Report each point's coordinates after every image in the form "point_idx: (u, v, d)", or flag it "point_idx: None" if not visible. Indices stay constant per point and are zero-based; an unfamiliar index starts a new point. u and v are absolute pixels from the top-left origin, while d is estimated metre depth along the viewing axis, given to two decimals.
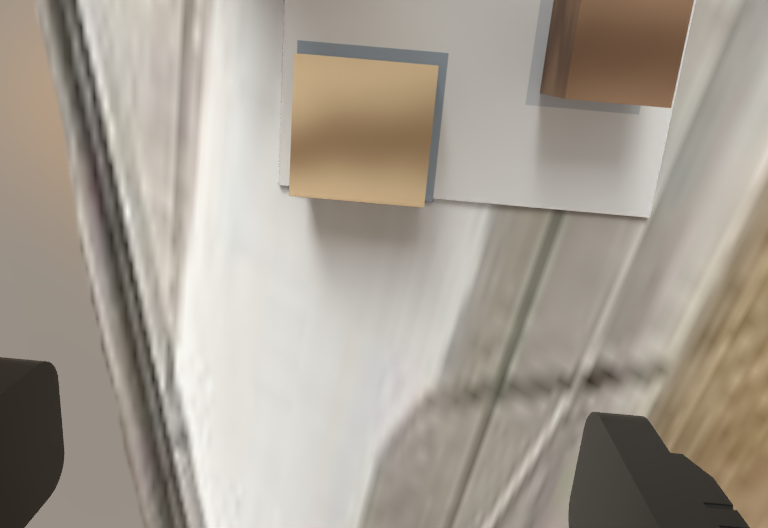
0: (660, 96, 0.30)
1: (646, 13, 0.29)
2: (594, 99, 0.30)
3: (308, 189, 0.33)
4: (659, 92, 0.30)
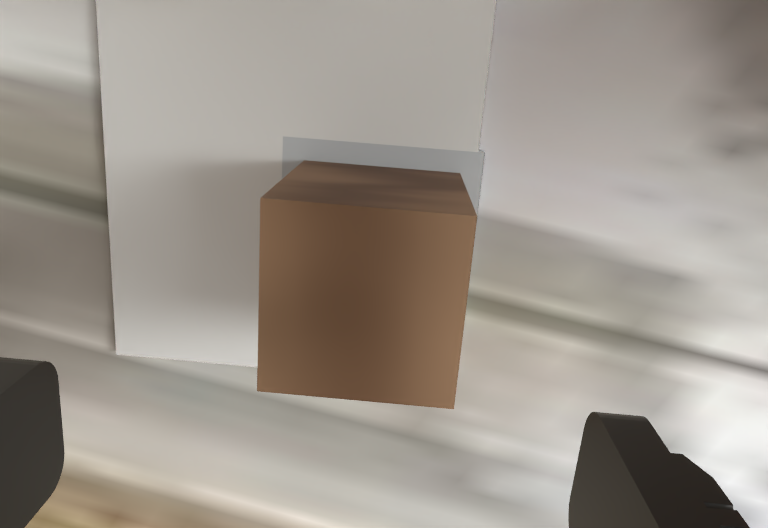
0: (276, 371, 0.16)
1: (421, 333, 0.16)
2: (263, 255, 0.15)
3: None
4: (283, 369, 0.16)
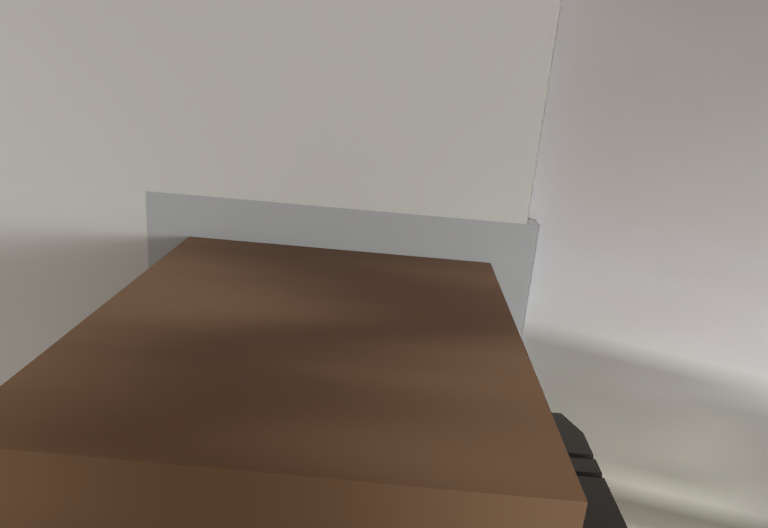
0: None
1: None
2: None
3: None
4: None
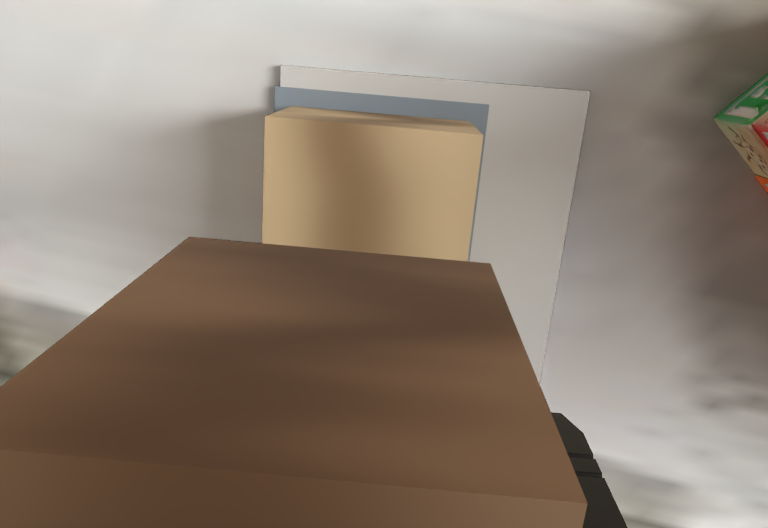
0: None
1: None
2: None
3: (276, 148, 0.21)
4: None
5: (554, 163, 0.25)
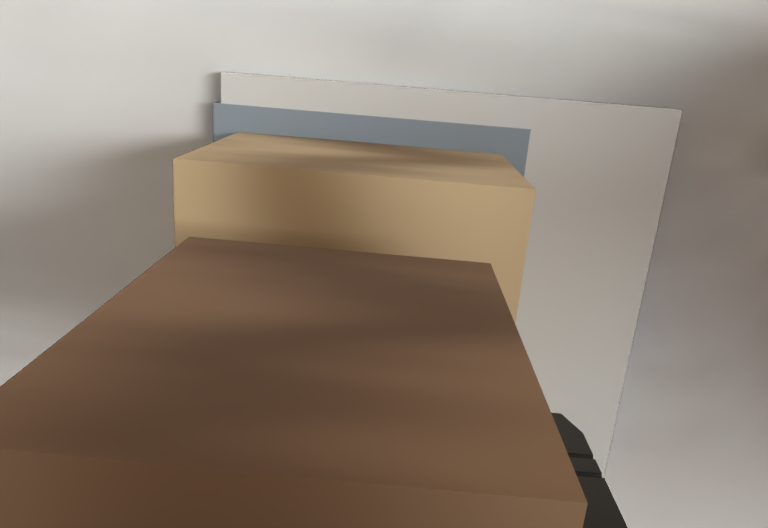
0: None
1: None
2: None
3: (195, 210, 0.13)
4: None
5: (625, 215, 0.17)
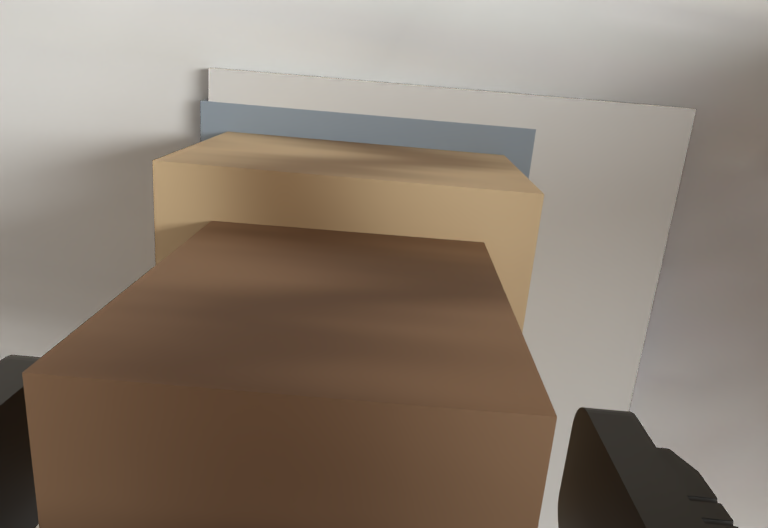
0: None
1: None
2: (44, 498, 0.06)
3: (177, 217, 0.12)
4: None
5: (635, 220, 0.16)
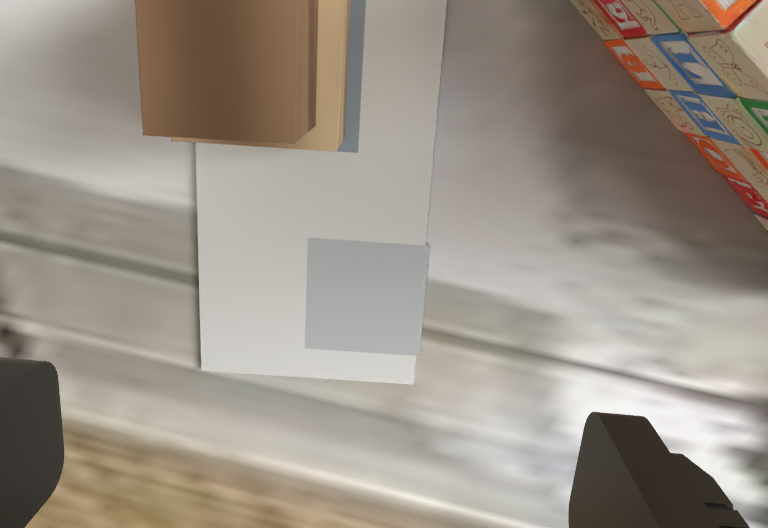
0: (157, 117, 0.21)
1: (264, 79, 0.20)
2: (139, 18, 0.20)
3: None
4: (161, 115, 0.21)
5: (425, 22, 0.30)
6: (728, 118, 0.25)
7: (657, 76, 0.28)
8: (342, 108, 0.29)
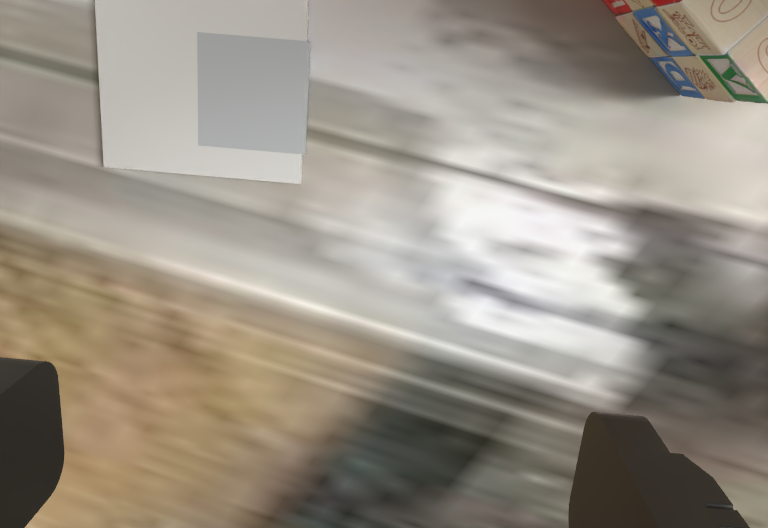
0: None
1: None
2: None
3: None
4: None
5: None
6: None
7: None
8: None
